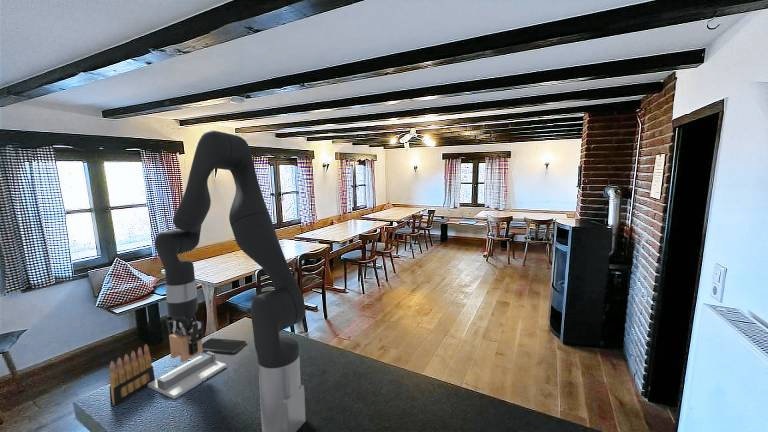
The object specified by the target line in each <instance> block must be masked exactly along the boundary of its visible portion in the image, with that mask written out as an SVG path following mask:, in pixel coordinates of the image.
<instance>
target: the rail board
mask: <svg viewBox="0 0 768 432" xmlns="http://www.w3.org/2000/svg"><path fill="white" fill-rule="evenodd" d="M225 368H227V364H226V363H224V362H220V361H218V360H216V353H212V352H209V351H208V352H205V354H204V355H198V356H197V357H195V358H194V359H190V361H188V362H186V363H184V364H181V365H180V366H179V367H176V368H175V369H173V370H171V371H169V372H167V373H166V374H164V375H161V376H159V377H158V378H155V380H154V381H152V382H150V383H148V387H147V388H149V389H151V390H154V391H155V392H158V393H160V394H163V395H164V396H166V397H169V398H171V399H174V400H176V399H177V398H179V397H181V396H182V395H184V394H185V393H186V392H188V391H189V390H191V389H193V388H195V387H197V386H199V384H201V383H203V382H205V381H206V380H207V378H208V379H209V378H210V377H212V376H215V374H217V373H219V372H220V371H222V370H223V369H225ZM202 381H203V382H202Z"/></svg>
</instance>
